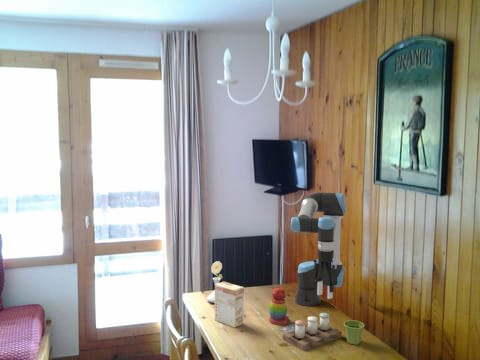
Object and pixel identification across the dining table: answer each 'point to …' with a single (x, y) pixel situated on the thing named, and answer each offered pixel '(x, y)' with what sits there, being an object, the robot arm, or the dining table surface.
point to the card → (288, 328)
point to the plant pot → (353, 331)
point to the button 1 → (300, 328)
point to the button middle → (312, 325)
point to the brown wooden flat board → (312, 341)
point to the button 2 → (324, 321)
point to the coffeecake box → (229, 304)
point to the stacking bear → (278, 307)
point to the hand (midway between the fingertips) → (324, 296)
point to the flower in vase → (215, 269)
